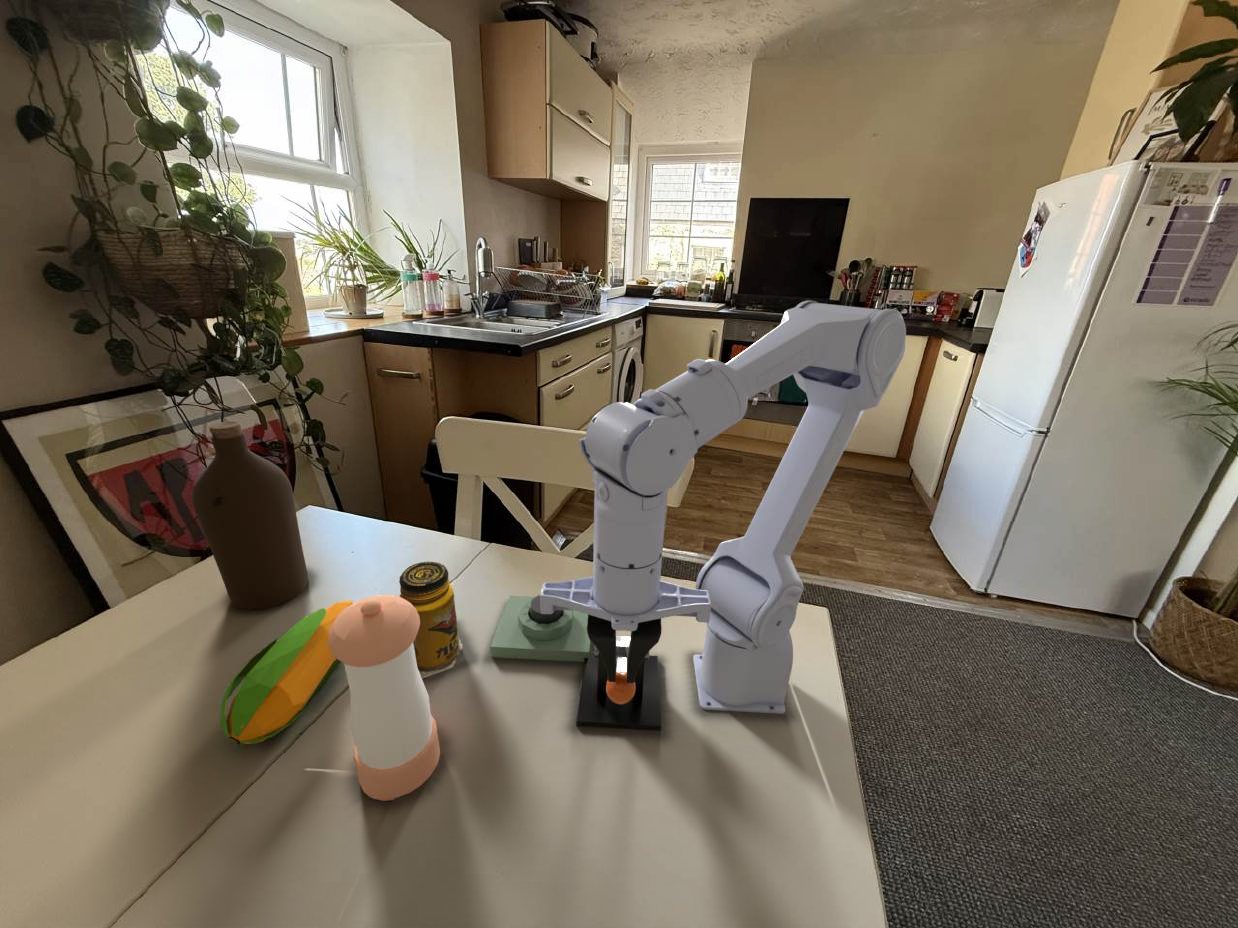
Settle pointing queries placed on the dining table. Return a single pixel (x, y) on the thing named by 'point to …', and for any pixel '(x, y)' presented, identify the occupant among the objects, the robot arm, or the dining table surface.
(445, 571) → the condiment
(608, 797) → the dining table surface
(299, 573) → the olive oil
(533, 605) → the button
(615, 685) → the switch lever
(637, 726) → the switch bracket
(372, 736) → the pepper shaker
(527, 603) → the block
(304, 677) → the corn
